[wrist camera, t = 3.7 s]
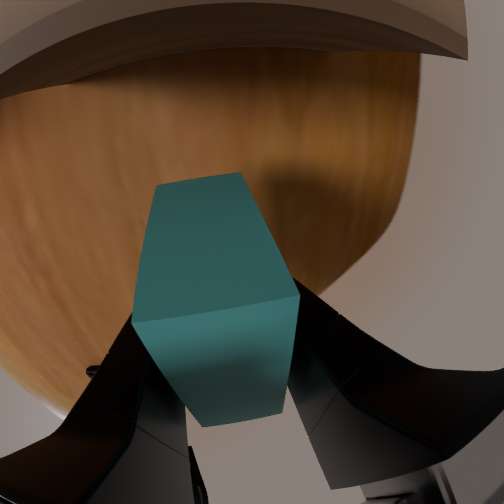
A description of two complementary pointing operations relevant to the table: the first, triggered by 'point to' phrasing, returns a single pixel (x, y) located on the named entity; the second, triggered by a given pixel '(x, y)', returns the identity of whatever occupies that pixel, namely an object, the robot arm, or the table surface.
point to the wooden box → (207, 31)
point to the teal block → (216, 300)
